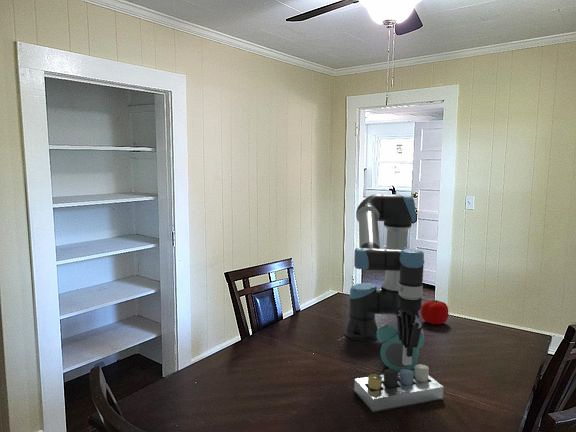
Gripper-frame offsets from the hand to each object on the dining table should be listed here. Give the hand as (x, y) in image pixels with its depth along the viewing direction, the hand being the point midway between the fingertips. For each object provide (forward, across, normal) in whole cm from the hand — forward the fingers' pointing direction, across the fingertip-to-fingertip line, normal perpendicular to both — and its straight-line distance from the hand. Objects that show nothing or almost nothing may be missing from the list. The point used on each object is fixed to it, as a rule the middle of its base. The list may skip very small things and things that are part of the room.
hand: (406, 363), depth 143 cm
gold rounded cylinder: (+9, 0, -12) cm, 15 cm away
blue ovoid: (+9, 0, 0) cm, 9 cm away
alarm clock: (+11, -17, +8) cm, 22 cm away
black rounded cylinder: (+8, 0, -6) cm, 10 cm away
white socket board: (+11, 0, -3) cm, 11 cm away
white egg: (+8, 0, +6) cm, 10 cm away
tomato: (+12, -53, +50) cm, 73 cm away
